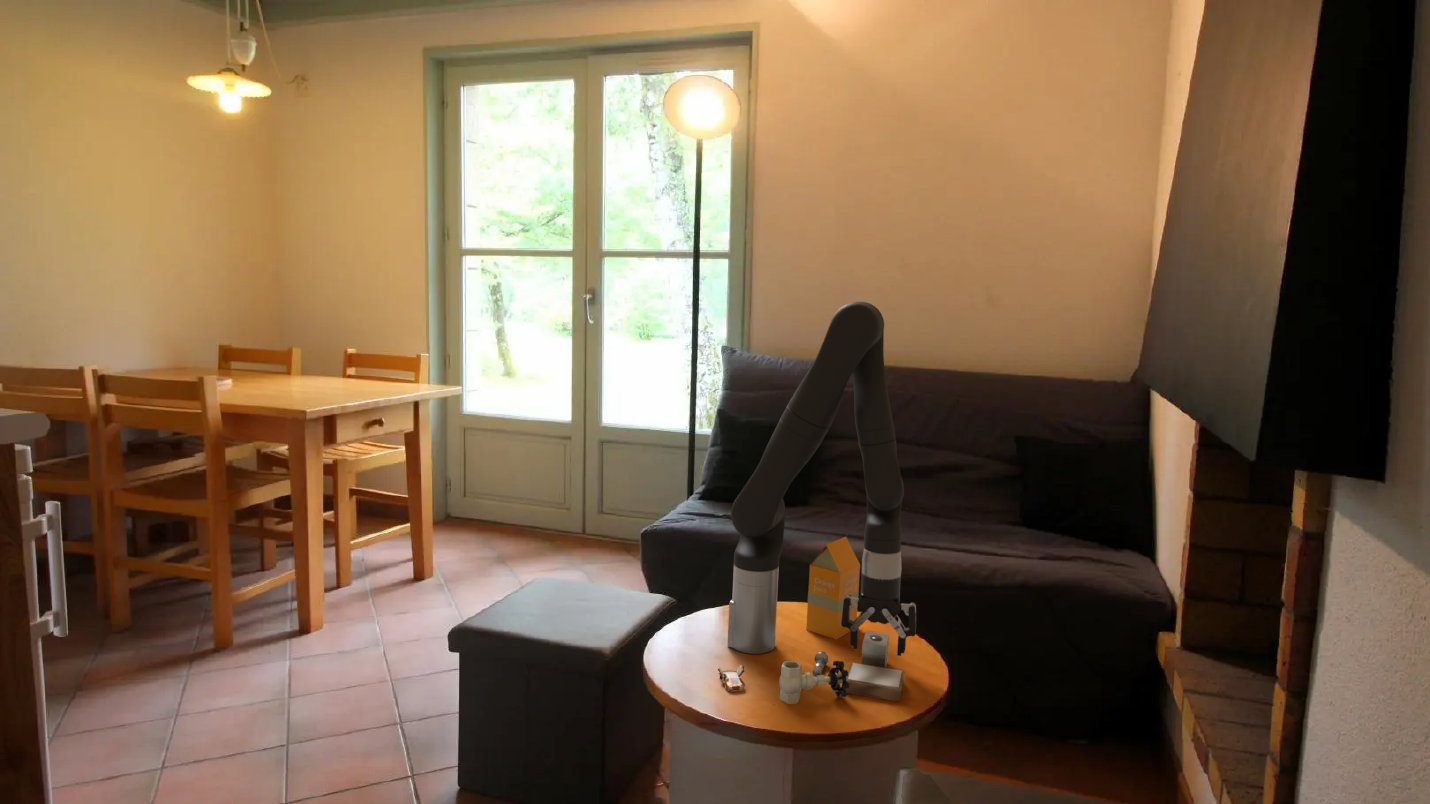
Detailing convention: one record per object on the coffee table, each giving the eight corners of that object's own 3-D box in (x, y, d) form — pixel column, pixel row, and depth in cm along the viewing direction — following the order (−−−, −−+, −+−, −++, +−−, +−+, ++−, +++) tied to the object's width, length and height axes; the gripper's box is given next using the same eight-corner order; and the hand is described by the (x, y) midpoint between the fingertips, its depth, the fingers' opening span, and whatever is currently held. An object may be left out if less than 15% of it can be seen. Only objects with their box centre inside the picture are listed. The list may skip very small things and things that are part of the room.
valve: (784, 709, 149) (848, 704, 152) (786, 673, 148) (850, 669, 151) (773, 691, 155) (834, 687, 158) (775, 657, 154) (836, 653, 157)
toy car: (740, 673, 163) (741, 658, 162) (749, 693, 155) (750, 677, 154) (713, 675, 162) (714, 659, 161) (721, 694, 154) (722, 678, 153)
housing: (860, 671, 165) (862, 641, 164) (864, 659, 171) (866, 629, 170) (884, 675, 164) (886, 645, 163) (887, 662, 169) (889, 633, 169)
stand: (844, 692, 156) (845, 679, 156) (850, 673, 164) (851, 661, 163) (899, 701, 153) (900, 688, 153) (903, 682, 161) (904, 670, 160)
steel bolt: (823, 677, 162) (823, 664, 161) (809, 675, 162) (810, 662, 162) (828, 664, 167) (828, 652, 167) (815, 662, 168) (815, 650, 168)
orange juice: (856, 627, 187) (862, 539, 184) (836, 639, 180) (842, 548, 177) (826, 618, 191) (831, 532, 189) (805, 629, 184) (810, 540, 182)
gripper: (841, 573, 163) (838, 653, 165) (917, 581, 159) (913, 664, 161) (847, 561, 170) (844, 639, 172) (920, 569, 166) (915, 648, 168)
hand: (877, 651), depth 166 cm, fingers open, 8 cm apart
